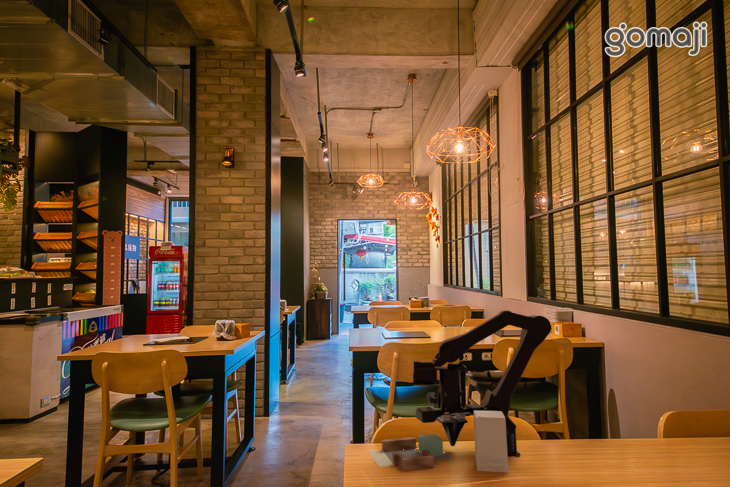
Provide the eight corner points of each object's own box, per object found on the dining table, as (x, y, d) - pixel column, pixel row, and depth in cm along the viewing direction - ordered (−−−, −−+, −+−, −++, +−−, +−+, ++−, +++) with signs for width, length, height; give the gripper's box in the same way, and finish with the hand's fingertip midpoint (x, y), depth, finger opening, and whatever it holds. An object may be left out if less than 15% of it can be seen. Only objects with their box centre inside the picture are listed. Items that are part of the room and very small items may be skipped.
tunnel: (414, 447, 120) (414, 437, 121) (436, 468, 105) (435, 456, 105) (381, 450, 118) (381, 440, 119) (399, 472, 103) (398, 460, 103)
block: (435, 449, 118) (435, 433, 119) (443, 455, 113) (442, 439, 114) (418, 450, 117) (418, 435, 118) (425, 456, 112) (424, 440, 113)
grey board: (436, 445, 122) (436, 444, 122) (454, 460, 110) (453, 459, 110) (367, 452, 117) (367, 450, 117) (378, 468, 106) (378, 466, 106)
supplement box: (509, 474, 101) (506, 418, 103) (476, 472, 103) (474, 416, 104) (505, 462, 108) (502, 410, 110) (475, 460, 110) (472, 409, 111)
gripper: (468, 379, 129) (470, 434, 127) (408, 383, 125) (410, 439, 122) (486, 386, 118) (489, 446, 116) (422, 390, 114) (423, 452, 112)
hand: (452, 445), depth 117 cm, fingers closed
